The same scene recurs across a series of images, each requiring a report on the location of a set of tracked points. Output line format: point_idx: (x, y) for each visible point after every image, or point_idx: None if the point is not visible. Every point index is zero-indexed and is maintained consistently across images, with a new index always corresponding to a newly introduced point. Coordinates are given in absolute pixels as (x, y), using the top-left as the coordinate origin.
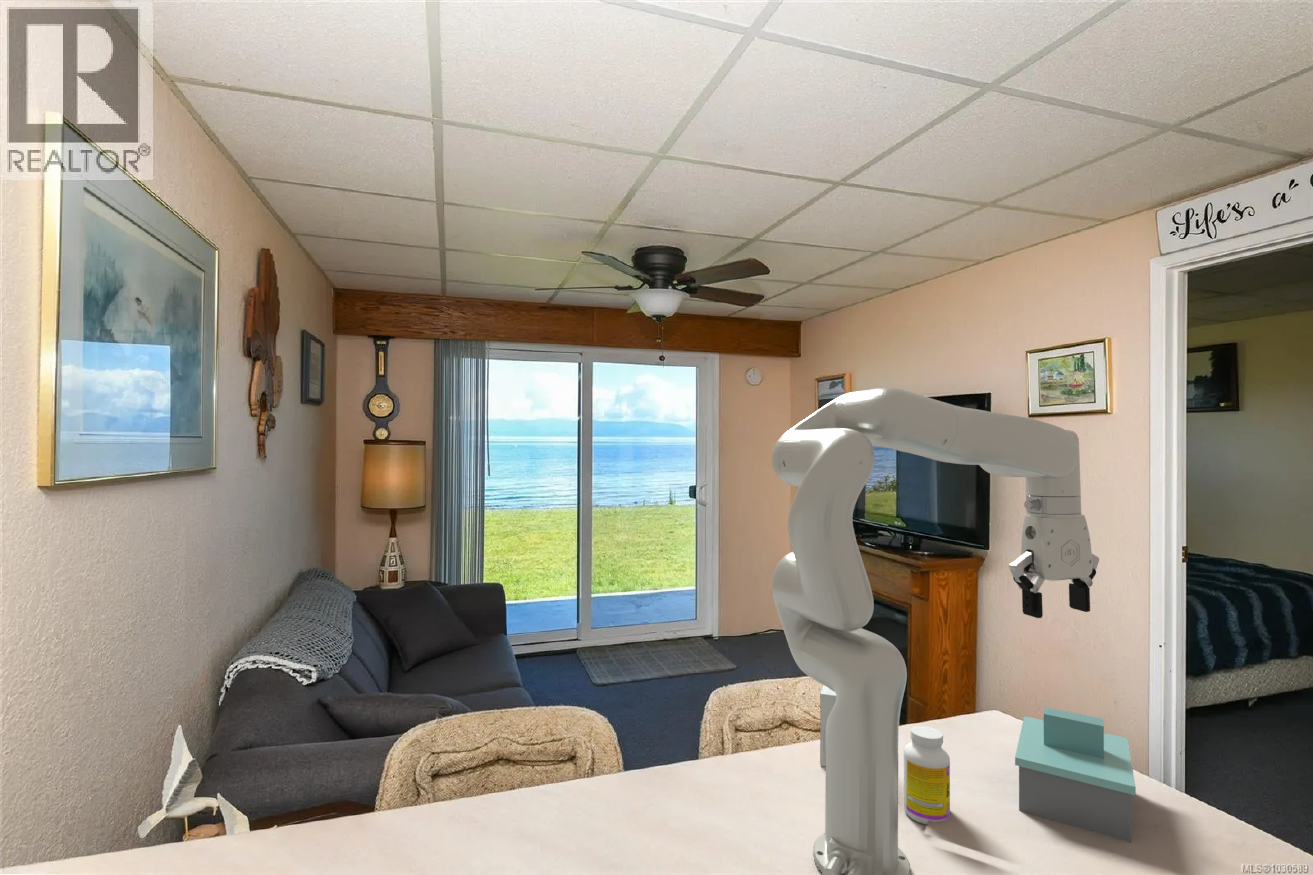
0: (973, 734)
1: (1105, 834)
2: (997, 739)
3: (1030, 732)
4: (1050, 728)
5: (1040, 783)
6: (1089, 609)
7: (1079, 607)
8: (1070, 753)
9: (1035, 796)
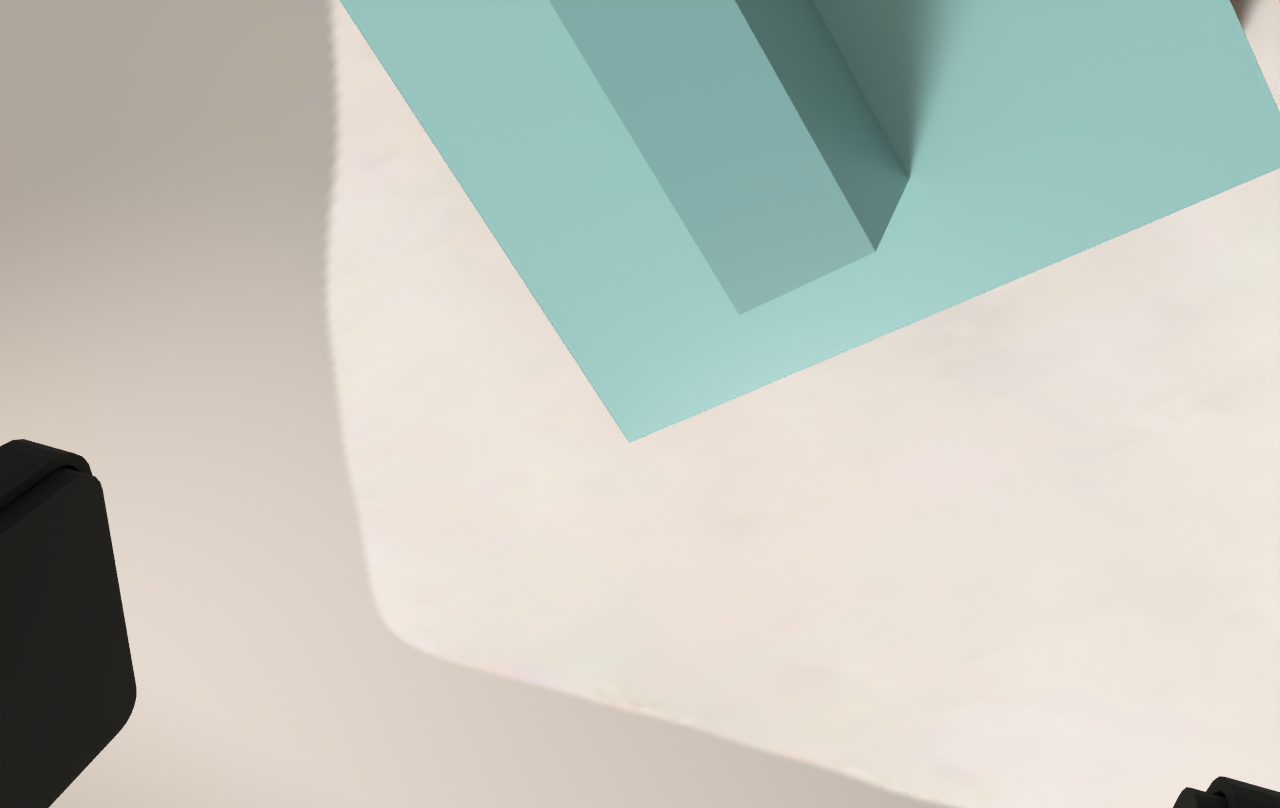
0: (639, 589)
1: None
2: (580, 513)
3: (808, 313)
4: (870, 183)
5: None
6: (10, 454)
7: (82, 595)
8: (877, 24)
9: None
